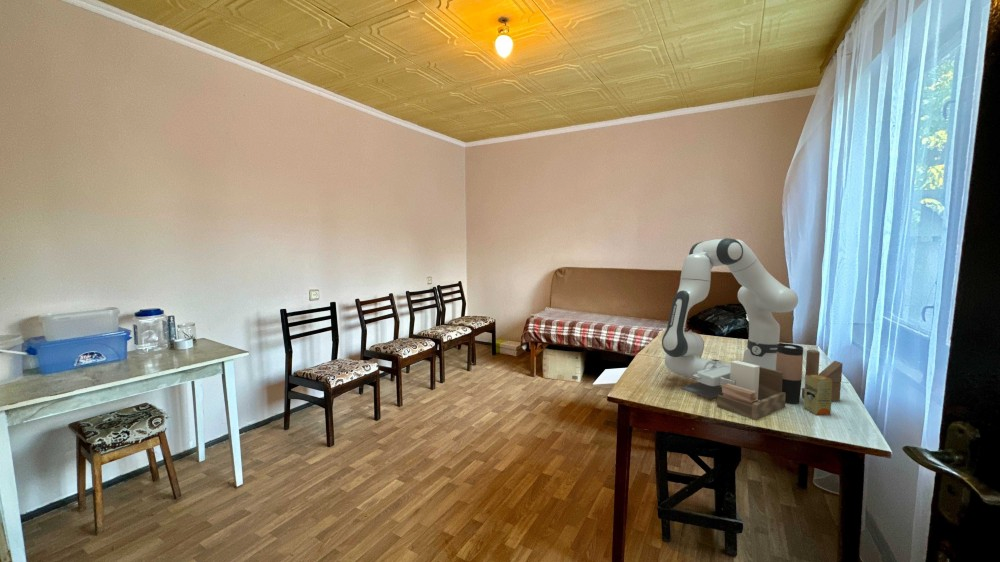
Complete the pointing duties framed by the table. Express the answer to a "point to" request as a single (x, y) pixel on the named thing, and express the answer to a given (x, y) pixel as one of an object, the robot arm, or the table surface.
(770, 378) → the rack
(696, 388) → the mat
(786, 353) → the travel mug
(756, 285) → the robot arm
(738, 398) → the offcut stack
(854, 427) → the table surface
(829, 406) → the shoe polish box
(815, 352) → the wooden block
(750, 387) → the white rectangular block
